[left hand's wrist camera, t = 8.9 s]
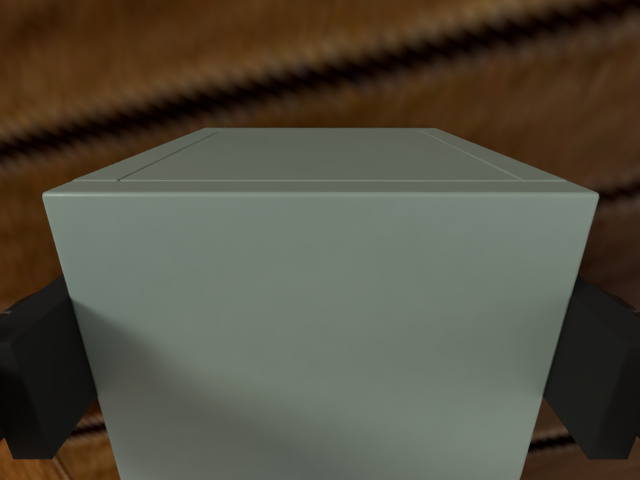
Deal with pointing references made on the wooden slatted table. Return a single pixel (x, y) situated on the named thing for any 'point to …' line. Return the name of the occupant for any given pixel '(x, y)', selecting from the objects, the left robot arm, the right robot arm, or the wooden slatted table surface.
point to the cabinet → (320, 302)
